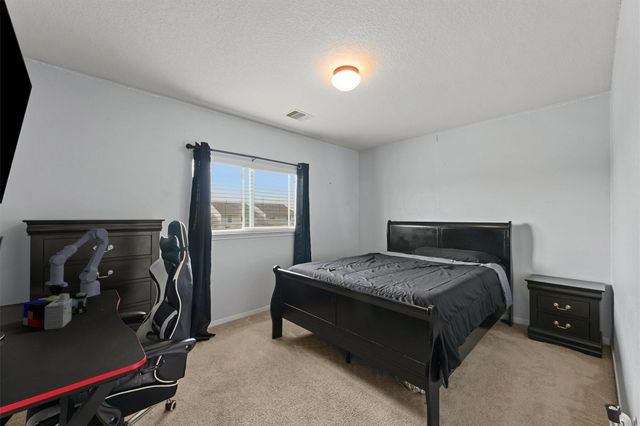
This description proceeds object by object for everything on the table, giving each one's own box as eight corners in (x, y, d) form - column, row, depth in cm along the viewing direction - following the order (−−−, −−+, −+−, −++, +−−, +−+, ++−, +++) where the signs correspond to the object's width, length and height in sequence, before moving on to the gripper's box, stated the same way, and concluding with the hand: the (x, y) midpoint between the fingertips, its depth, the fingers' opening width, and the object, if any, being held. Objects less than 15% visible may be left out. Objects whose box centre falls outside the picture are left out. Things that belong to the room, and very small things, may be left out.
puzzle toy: (23, 324, 127) (23, 303, 127) (49, 317, 136) (50, 297, 137) (36, 327, 124) (37, 305, 124) (63, 319, 134) (63, 299, 134)
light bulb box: (53, 322, 130) (54, 299, 130) (71, 320, 133) (72, 298, 133) (43, 330, 121) (44, 306, 121) (63, 327, 124) (64, 304, 124)
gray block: (54, 302, 156) (54, 295, 156) (59, 302, 155) (59, 295, 156) (48, 303, 154) (49, 296, 154) (54, 304, 153) (54, 297, 153)
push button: (71, 315, 139) (71, 296, 139) (69, 313, 142) (69, 294, 143) (87, 312, 144) (88, 293, 145) (85, 309, 148) (86, 291, 148)
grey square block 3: (43, 304, 151) (43, 297, 152) (49, 305, 151) (49, 298, 151) (37, 306, 149) (38, 299, 149) (43, 306, 148) (43, 299, 148)
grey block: (64, 299, 161) (64, 293, 161) (69, 300, 160) (69, 293, 160) (59, 300, 159) (59, 294, 159) (64, 301, 158) (64, 294, 158)
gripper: (39, 275, 159) (38, 298, 159) (58, 277, 156) (57, 300, 155) (53, 273, 166) (53, 295, 166) (71, 274, 163) (71, 297, 162)
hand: (56, 297), depth 161 cm, fingers closed
